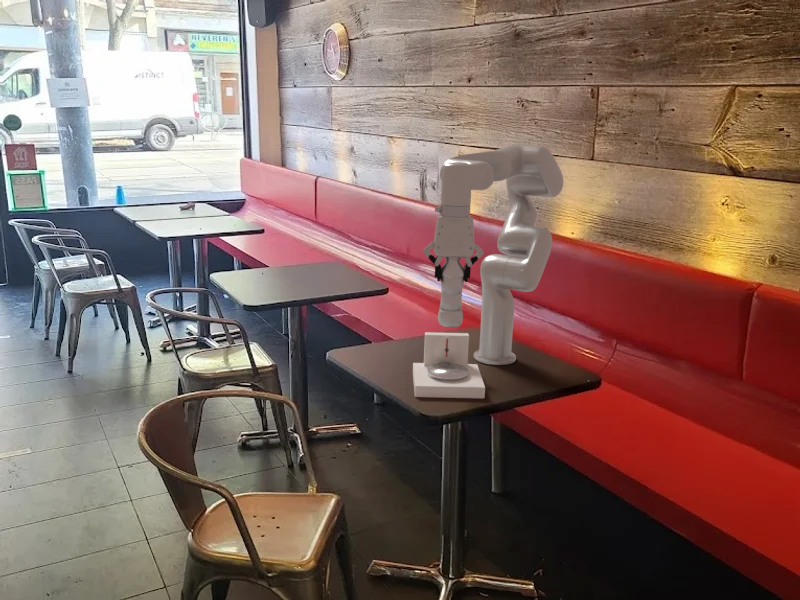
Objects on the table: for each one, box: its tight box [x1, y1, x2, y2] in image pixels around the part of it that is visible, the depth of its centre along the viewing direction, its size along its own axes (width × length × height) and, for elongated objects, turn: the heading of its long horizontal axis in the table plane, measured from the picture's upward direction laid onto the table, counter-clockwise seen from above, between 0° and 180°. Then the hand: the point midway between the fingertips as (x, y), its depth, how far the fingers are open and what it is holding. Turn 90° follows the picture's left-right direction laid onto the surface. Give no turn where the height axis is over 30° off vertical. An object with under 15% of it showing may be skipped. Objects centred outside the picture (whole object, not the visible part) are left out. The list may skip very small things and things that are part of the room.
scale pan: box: [427, 363, 468, 380], centre depth 201 cm, size 11×11×1 cm
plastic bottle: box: [437, 257, 465, 328], centre depth 195 cm, size 6×7×20 cm
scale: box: [412, 331, 486, 399], centre depth 201 cm, size 18×18×12 cm
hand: (452, 279), depth 195 cm, fingers closed on plastic bottle, 6 cm apart
